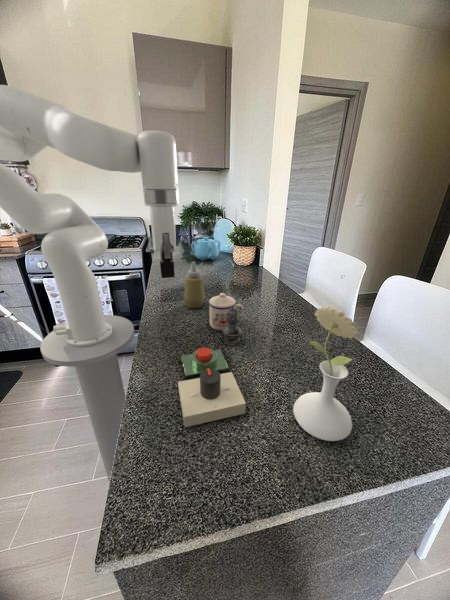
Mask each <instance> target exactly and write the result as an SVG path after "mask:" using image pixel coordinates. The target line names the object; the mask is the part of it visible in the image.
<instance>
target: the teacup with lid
mask: <svg viewBox="0 0 450 600" xmlns="http://www.w3.org/2000/svg"><path fill="white" fill-rule="evenodd" d="M208 305H209V326H210V327H211V328H212V329H213V330H216V331H221V332H223V329H224V328H225V327H227V325H228V321H227V318H228V310H229V309H231V308H232V307H233V306H234V308H235V309H236V308H240V312H239V313H238V317H237V318H238V319H239V318H240V317H241V316H242V315H243V314H244V311H245V309H244V306H243V305H242V304H240V303H237V301H236V299H235V298H234V297H232V296H230V295H226V293H225V292H220V293H219V295H215V296H212V297H211V298H210V299H208Z"/></svg>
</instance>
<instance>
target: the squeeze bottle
mask: <svg viewBox="0 0 450 600" xmlns="http://www.w3.org/2000/svg"><path fill="white" fill-rule="evenodd" d="M190 264H191V265H190V269H189V270H187V276H185V278H184V296H183V297H184V300H185V303H186V305H187V307H188V308H189V309H200V308H201V307H202V306H203V305H204V301H205V298H206V295H205V287H204V278H203V276H202V275H201V271H200V270H199V269H197V268H198V267H197V265H196V261H191V263H190Z"/></svg>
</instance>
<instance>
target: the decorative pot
mask: <svg viewBox="0 0 450 600" xmlns="http://www.w3.org/2000/svg"><path fill="white" fill-rule="evenodd" d="M217 243H218V245H217ZM190 247H191V250H192V251H190V255H191V256H195V258H197V259H199V260H200V261H206V260H215V259H217V258H218V256H219V254H220V253H221V252H222V250H221V249H220V247H221V242H220V241H219V240H218V239H212V238H209V237H208V236H203V238H200V239H199V238H198V239H197V240H196V241H195V240H194V241H193V242H191V245H190Z"/></svg>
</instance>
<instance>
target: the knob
mask: <svg viewBox="0 0 450 600" xmlns="http://www.w3.org/2000/svg"><path fill="white" fill-rule="evenodd" d="M220 383H221V375H220V373H219V372H218V371H217V370H214V369H210V368H207V370H204V371H203V372H202V373H201V374H200V394H201V396H202V397H203V398H205V399H209V400H211V399H215V398H217V397H218V396H219V395H220Z"/></svg>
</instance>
